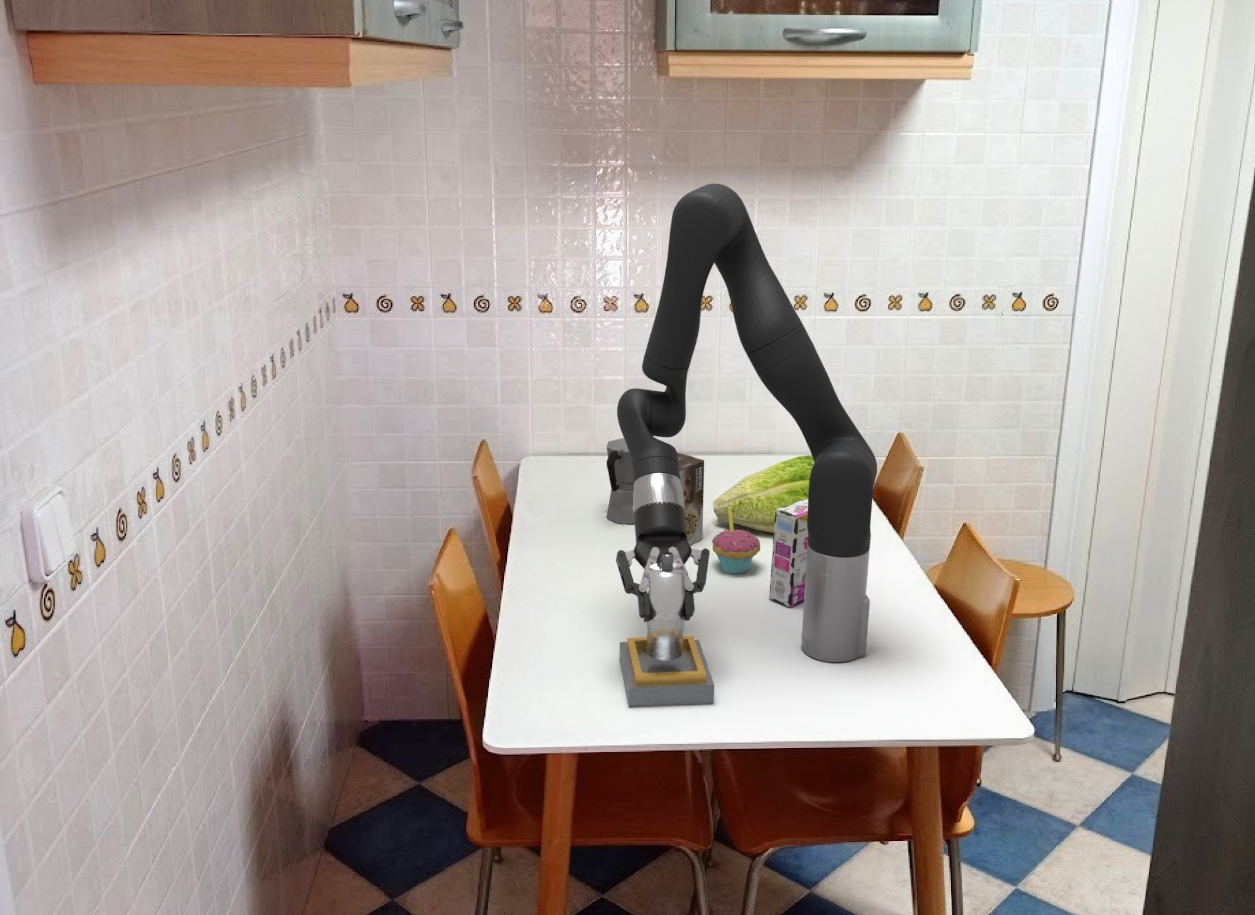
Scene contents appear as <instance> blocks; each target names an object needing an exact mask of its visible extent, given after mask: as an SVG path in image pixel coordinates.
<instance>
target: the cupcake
mask: <svg viewBox="0 0 1255 915" xmlns="http://www.w3.org/2000/svg"><path fill="white" fill-rule="evenodd" d="M728 504H729V507H728V514H729V522H728V523H729V524H728V525H729V529H725V530H723V531H719V533H718V534H716V535H715V536H714V537H713V538H712V539H711V543H712V552H714V553H715V554H716V556H717V558H718V562H719V564H720V568H721V570H722V571H723V572H725V573H729V574H733V575H735V574H737V575H738V574H742V573H745V572H747V571H748V570H749V567H750V564H751V562H752V560H753V558H754V556H756V555H757V554H758V553H759V552H760V551H761V542H760V540H759V538H758V537H756V536H755V535H754V534H752V533H751V532H749V531H748V530H747V531H746V530H745V529H736V528H735V529H734V523H733V518H732V507H730V503H728Z"/></svg>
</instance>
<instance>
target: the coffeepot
mask: <svg viewBox="0 0 1255 915" xmlns="http://www.w3.org/2000/svg"><path fill="white" fill-rule="evenodd" d="M606 452H607V453H606V454H607V460H606V468H607V472H608V477H609V478H608V479H609V484H610V488H611V489H610V494H609V495H610V496H609V499H608V500H609V501H608V506H607V511H606V512H607V513H606V519H607V520H608V521H610V522H612V523H615V524H618V525H627V526H630V525H631V526H632V525H633V526H635V520H634V512H633V492H634V480H633V466H632V459H631V456H630V453H629V450H628V447H627V444H626V442H625V439H624V437H621V438H617V439H614V440H609V441H608V442H607V445H606Z"/></svg>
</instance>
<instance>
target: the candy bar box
mask: <svg viewBox="0 0 1255 915" xmlns="http://www.w3.org/2000/svg"><path fill="white" fill-rule="evenodd" d="M807 516H808V498H807V499H804V500H801V501H799V502H796V503H793V504H790V505H787V506H784V507H782V508H779V509H776V510H775V523H774V533H773V542H772V556H771V568H770V579H769V580H770V581H769V582H770V584H769V596H768V599H769V600H770V601H773V602H775V603H778V604H779V605H782V606H784V607H787V608H793V607H795V606H797V605H799V604H801V603H804V594H805V578H806V563H807V547H808V530H807Z"/></svg>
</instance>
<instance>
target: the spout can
mask: <svg viewBox="0 0 1255 915" xmlns="http://www.w3.org/2000/svg"><path fill="white" fill-rule="evenodd" d="M685 568H686V567H685ZM685 568H684V567H683V566H681V565H679V564H675V563H673V553H671V552H664V553H662V563H657V564H654V565H652V566H650V567H649V581H648V589H647V593H648V594H649V604H650V621H649V622H646V623H647V625H646V628H647V629H646V637H647V654H648V655H649V656H650V657H651V658H654V659H657V660H662V661H669V660H674V659H677V658H679V657H680V656H681V655H682V652H683V636H684V625H685V624H684V622H685V621H684V597H685V571H686V570H687V569H686V570H685Z"/></svg>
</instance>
